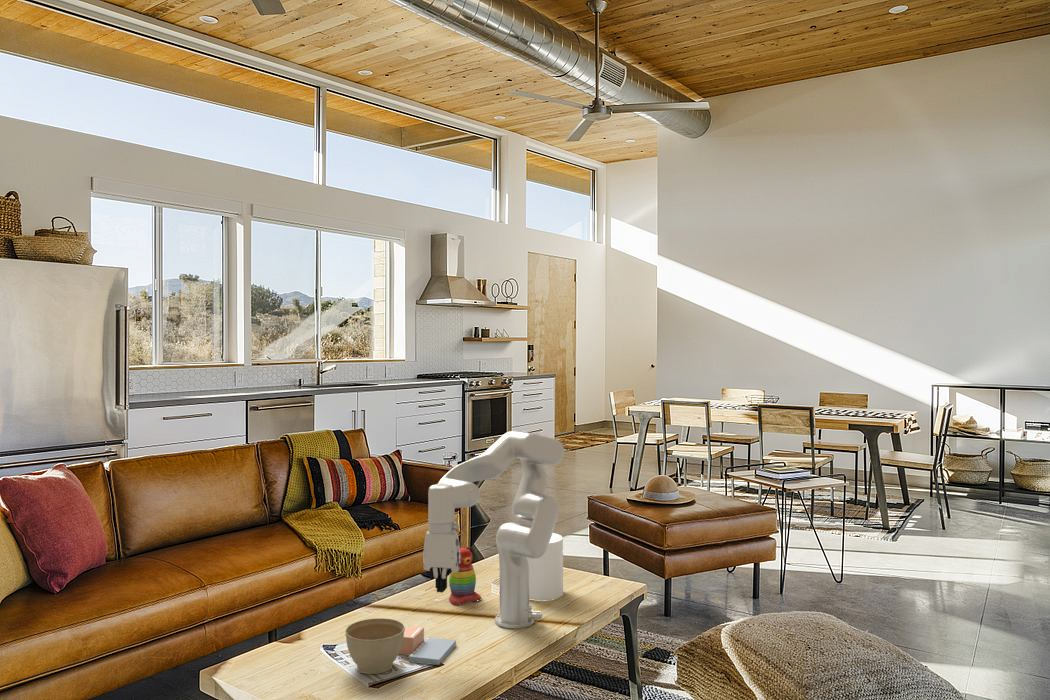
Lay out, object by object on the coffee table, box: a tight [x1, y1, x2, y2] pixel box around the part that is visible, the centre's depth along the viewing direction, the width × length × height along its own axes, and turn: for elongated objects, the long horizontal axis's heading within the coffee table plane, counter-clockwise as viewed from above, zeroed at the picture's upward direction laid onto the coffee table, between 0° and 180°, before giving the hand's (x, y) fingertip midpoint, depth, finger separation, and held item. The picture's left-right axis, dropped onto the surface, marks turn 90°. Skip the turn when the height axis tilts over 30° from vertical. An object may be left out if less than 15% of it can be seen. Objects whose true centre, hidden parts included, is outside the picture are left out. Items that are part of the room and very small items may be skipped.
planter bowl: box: [344, 617, 406, 675], centre depth 209 cm, size 16×16×11 cm
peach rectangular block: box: [398, 625, 425, 656], centre depth 221 cm, size 5×8×5 cm, turn 166°
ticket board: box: [408, 636, 457, 666], centre depth 218 cm, size 9×14×2 cm, turn 166°
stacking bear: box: [448, 546, 482, 606], centre depth 263 cm, size 11×10×18 cm
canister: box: [527, 532, 564, 601], centre depth 268 cm, size 16×16×20 cm
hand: (441, 590), depth 218 cm, fingers closed
